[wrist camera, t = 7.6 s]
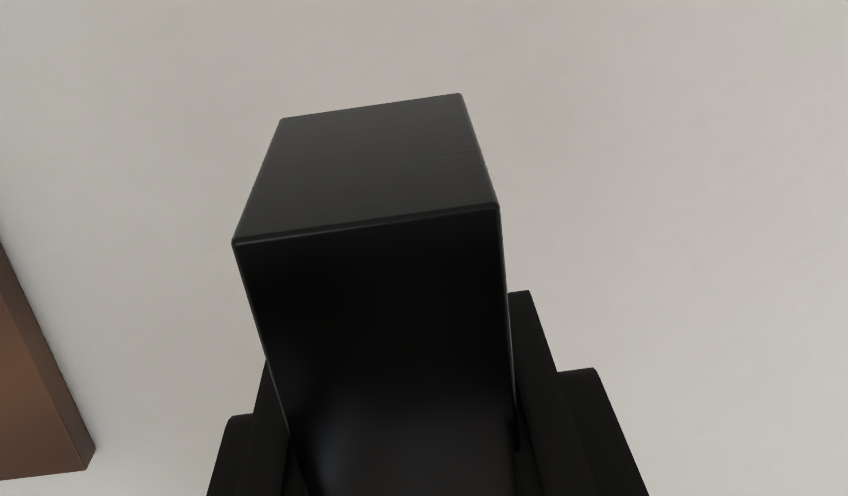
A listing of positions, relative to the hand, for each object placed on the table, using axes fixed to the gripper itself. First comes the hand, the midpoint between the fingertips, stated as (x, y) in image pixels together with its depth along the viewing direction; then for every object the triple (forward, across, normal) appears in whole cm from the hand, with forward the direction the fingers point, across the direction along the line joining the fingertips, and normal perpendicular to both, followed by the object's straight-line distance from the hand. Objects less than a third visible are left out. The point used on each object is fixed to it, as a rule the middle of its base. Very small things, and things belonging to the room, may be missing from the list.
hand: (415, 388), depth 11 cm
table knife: (0, 0, +5) cm, 5 cm away
